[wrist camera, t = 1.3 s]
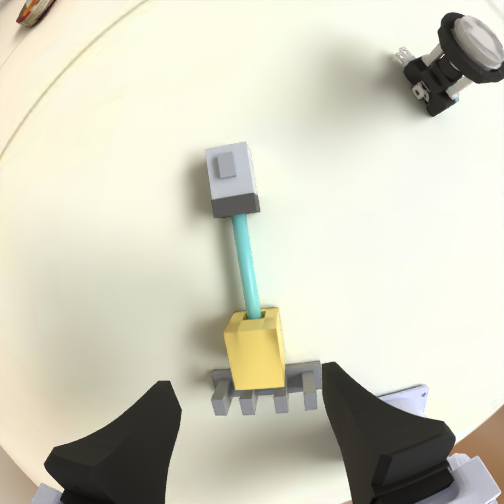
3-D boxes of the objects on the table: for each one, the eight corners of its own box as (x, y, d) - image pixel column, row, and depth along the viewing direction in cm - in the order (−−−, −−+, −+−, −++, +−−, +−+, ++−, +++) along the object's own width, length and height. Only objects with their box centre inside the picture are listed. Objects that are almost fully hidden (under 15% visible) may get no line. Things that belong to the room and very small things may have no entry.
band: (260, 211, 21) (256, 211, 18) (223, 217, 21) (214, 218, 18) (257, 195, 21) (253, 192, 18) (220, 201, 21) (211, 199, 18)
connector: (257, 195, 21) (253, 192, 17) (220, 201, 21) (209, 199, 18) (250, 150, 20) (244, 139, 17) (214, 157, 21) (202, 147, 17)
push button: (376, 63, 18) (417, -6, 8) (414, 48, 17) (459, -12, 7) (423, 127, 18) (493, 84, 8) (458, 106, 17) (523, 66, 8)
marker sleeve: (284, 358, 22) (284, 386, 18) (243, 362, 22) (235, 390, 18) (278, 307, 21) (276, 328, 17) (234, 312, 22) (223, 333, 18)
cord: (272, 382, 21) (271, 389, 20) (260, 383, 21) (259, 390, 20) (241, 178, 20) (238, 176, 19) (227, 181, 20) (224, 179, 19)
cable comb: (321, 383, 22) (326, 411, 18) (219, 392, 23) (208, 418, 19) (319, 360, 22) (325, 387, 18) (213, 370, 23) (201, 395, 19)
